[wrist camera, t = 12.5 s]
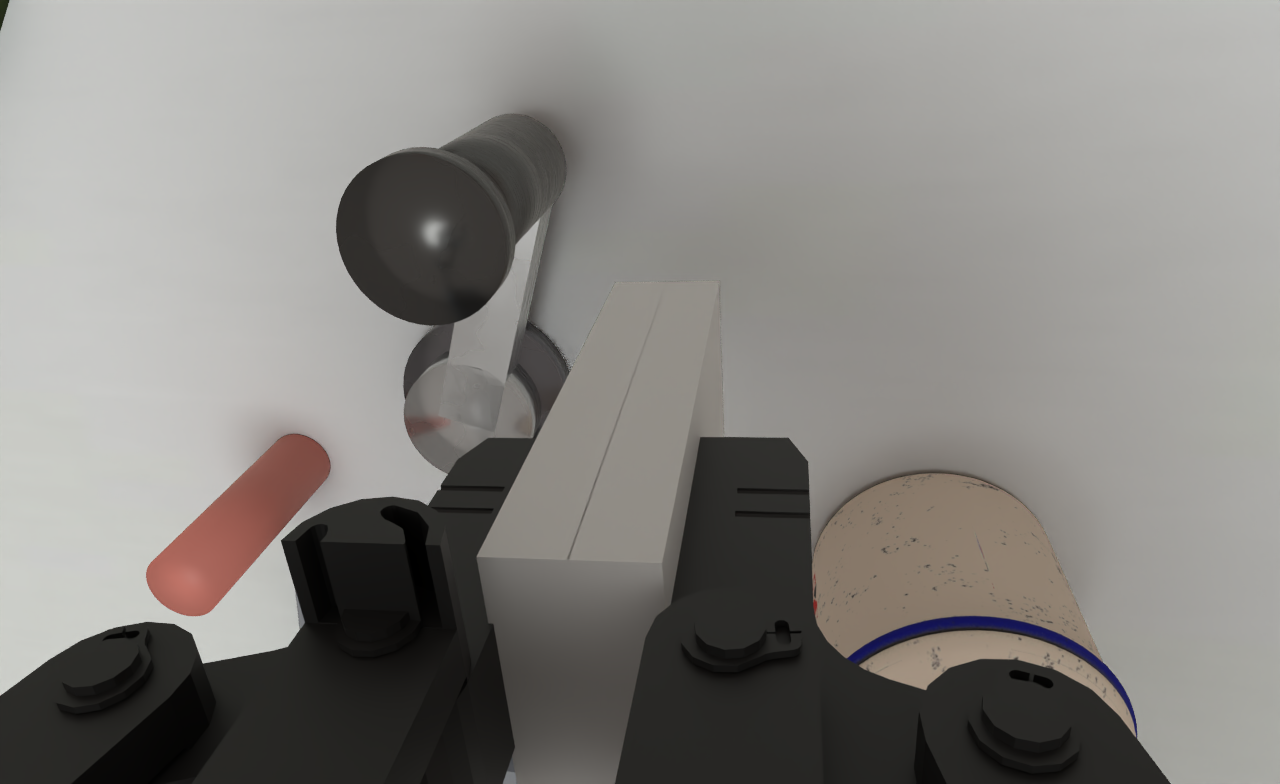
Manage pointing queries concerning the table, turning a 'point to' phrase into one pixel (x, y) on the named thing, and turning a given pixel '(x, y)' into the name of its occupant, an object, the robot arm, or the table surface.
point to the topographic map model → (3, 10)
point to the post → (237, 527)
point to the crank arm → (459, 271)
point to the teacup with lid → (950, 586)
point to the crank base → (534, 358)
